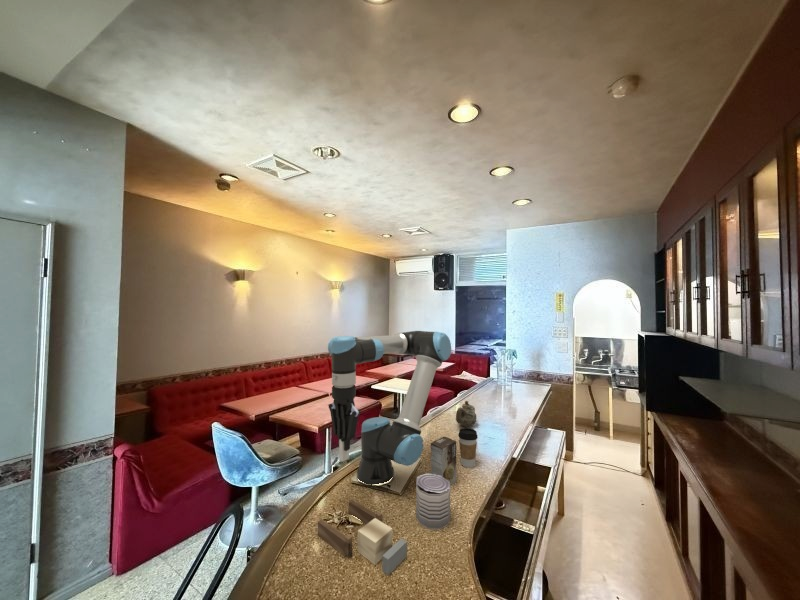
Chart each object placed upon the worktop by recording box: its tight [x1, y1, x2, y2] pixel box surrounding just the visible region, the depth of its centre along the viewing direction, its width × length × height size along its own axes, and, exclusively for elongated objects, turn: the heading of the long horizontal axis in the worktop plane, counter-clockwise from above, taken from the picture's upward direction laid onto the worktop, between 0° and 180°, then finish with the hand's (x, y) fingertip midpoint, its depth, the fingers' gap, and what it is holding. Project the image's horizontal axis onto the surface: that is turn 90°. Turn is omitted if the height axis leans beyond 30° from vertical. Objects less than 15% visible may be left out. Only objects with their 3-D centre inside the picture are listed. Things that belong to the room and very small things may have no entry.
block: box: [357, 518, 393, 566], centre depth 88 cm, size 7×7×6 cm
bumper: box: [381, 537, 408, 576], centre depth 84 cm, size 8×2×4 cm, turn 141°
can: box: [415, 473, 451, 530], centre depth 102 cm, size 11×11×12 cm
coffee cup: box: [458, 427, 478, 469], centre depth 137 cm, size 8×8×15 cm
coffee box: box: [430, 436, 457, 486], centre depth 123 cm, size 9×6×16 cm
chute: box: [317, 499, 384, 560], centre depth 95 cm, size 14×14×5 cm
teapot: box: [455, 400, 477, 428], centre depth 181 cm, size 21×12×15 cm, turn 144°
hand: (344, 459), depth 98 cm, fingers closed
